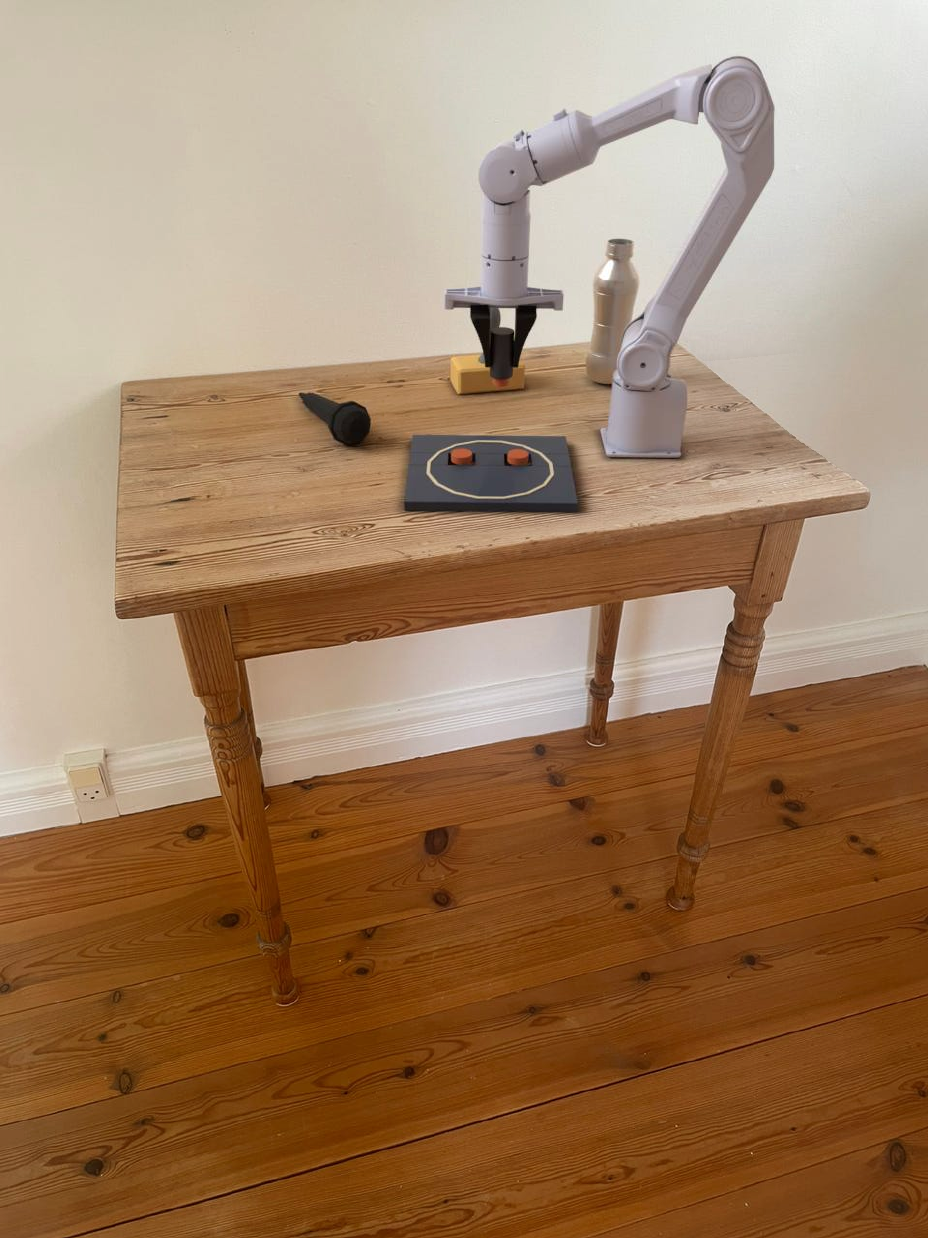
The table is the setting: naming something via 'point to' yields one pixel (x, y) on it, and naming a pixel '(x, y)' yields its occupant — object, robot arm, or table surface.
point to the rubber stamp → (482, 370)
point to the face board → (490, 475)
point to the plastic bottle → (611, 308)
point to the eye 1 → (461, 456)
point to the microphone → (340, 417)
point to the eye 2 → (518, 457)
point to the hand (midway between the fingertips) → (501, 364)
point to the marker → (501, 355)
